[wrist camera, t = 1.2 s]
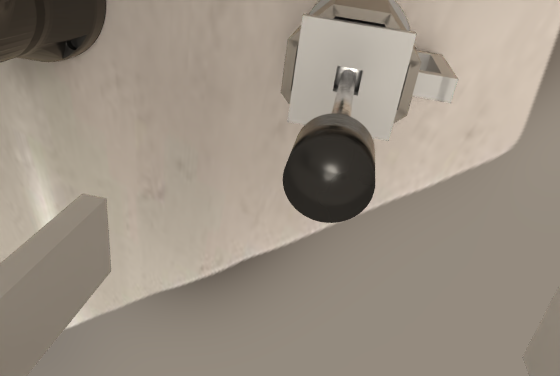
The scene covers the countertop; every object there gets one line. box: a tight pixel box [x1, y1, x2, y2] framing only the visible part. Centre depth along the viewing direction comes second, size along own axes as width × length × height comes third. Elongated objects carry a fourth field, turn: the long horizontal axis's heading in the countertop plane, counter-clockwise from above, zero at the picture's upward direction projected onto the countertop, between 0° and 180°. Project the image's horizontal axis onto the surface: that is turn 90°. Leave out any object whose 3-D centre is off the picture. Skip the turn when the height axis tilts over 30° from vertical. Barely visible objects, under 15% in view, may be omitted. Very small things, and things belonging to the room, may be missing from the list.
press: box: [281, 0, 458, 141], centre depth 43 cm, size 14×12×16 cm
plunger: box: [283, 66, 375, 223], centre depth 29 cm, size 8×8×20 cm
